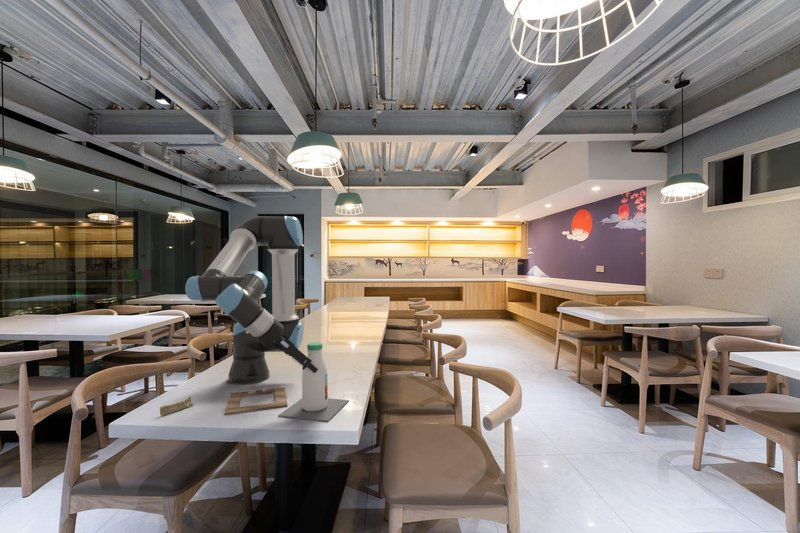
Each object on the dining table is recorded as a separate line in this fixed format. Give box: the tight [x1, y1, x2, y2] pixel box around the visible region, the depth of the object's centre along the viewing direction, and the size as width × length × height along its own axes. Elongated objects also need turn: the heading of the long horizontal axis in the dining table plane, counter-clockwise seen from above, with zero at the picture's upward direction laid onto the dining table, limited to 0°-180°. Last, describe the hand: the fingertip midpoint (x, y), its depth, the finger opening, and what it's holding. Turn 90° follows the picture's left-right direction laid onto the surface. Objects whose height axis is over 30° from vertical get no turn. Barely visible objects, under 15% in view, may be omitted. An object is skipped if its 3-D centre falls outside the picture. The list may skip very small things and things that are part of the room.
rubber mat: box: [277, 397, 350, 423], centre depth 111 cm, size 16×16×1 cm
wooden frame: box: [224, 386, 288, 416], centre depth 118 cm, size 18×18×1 cm
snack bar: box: [159, 396, 194, 417], centre depth 110 cm, size 10×2×3 cm, turn 150°
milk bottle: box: [301, 341, 329, 412], centre depth 111 cm, size 8×8×20 cm
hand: (315, 371), depth 111 cm, fingers open, 13 cm apart
